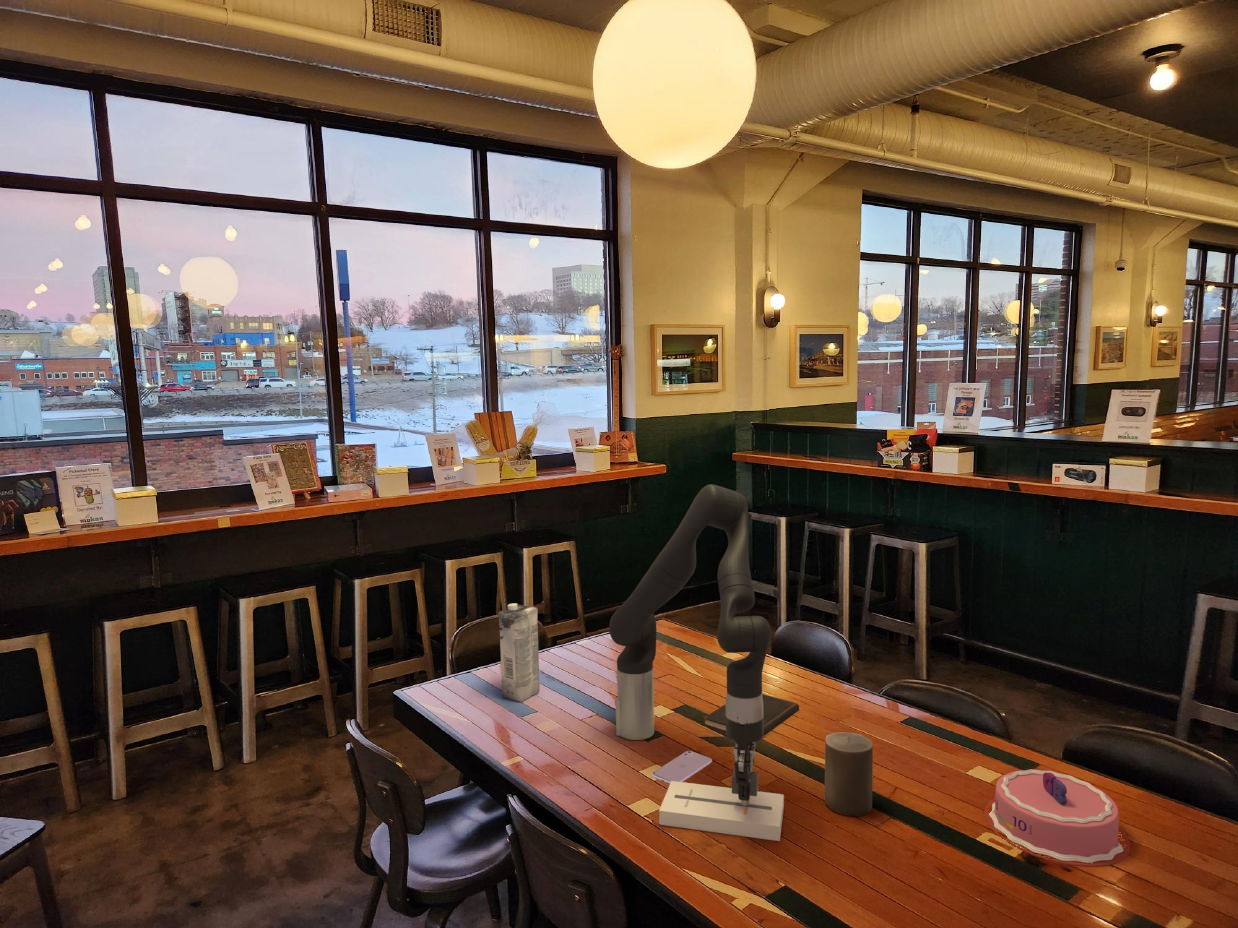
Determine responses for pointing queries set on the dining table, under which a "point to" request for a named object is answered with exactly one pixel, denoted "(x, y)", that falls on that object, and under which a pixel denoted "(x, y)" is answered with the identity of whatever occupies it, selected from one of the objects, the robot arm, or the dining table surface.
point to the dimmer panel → (722, 811)
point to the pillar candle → (848, 773)
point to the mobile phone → (682, 767)
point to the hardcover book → (772, 713)
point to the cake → (1058, 818)
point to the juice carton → (519, 652)
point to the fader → (752, 786)
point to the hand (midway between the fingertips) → (745, 794)
